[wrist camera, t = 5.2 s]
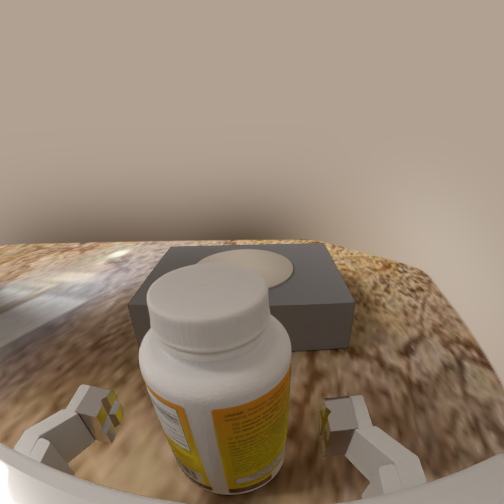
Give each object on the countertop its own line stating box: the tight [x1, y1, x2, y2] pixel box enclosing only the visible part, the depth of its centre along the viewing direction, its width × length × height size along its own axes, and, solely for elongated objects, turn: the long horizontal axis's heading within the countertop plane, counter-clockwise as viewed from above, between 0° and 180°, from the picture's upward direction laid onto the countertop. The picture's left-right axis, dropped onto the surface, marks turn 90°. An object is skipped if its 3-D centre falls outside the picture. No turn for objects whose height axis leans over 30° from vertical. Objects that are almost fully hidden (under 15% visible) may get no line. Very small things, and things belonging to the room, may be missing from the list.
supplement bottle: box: [139, 263, 292, 495], centre depth 12 cm, size 6×6×10 cm
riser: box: [128, 243, 355, 351], centre depth 27 cm, size 16×12×4 cm
